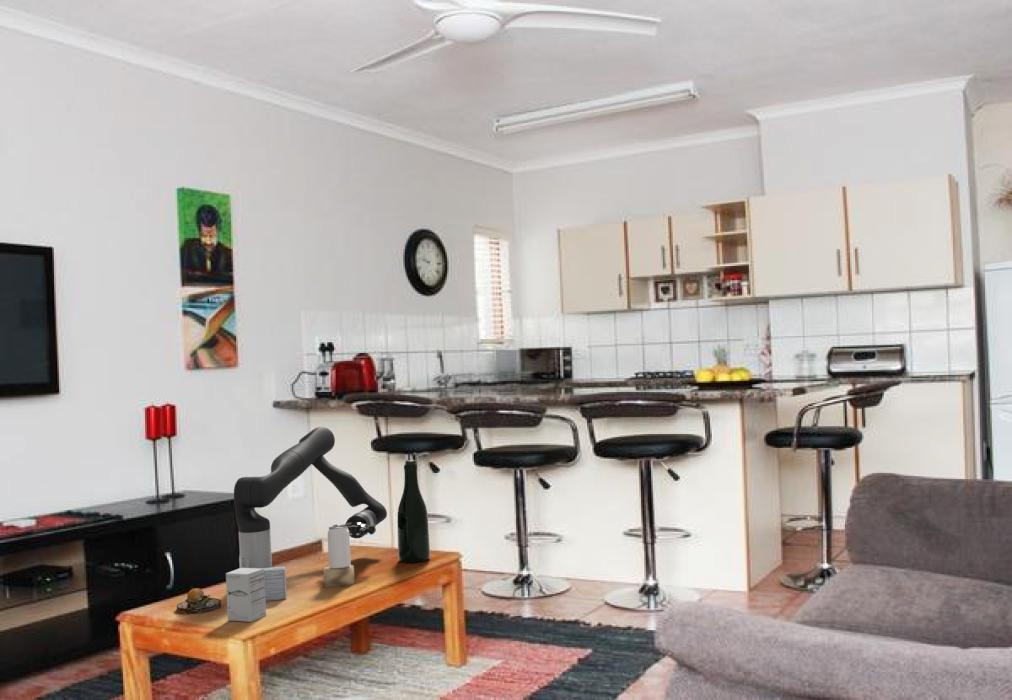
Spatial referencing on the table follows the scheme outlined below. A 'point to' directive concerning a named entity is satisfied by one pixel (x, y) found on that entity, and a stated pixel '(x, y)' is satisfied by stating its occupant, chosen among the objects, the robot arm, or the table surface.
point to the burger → (198, 603)
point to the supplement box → (245, 594)
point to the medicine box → (275, 583)
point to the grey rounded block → (338, 577)
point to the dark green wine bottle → (412, 519)
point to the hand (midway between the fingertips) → (346, 533)
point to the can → (339, 547)
